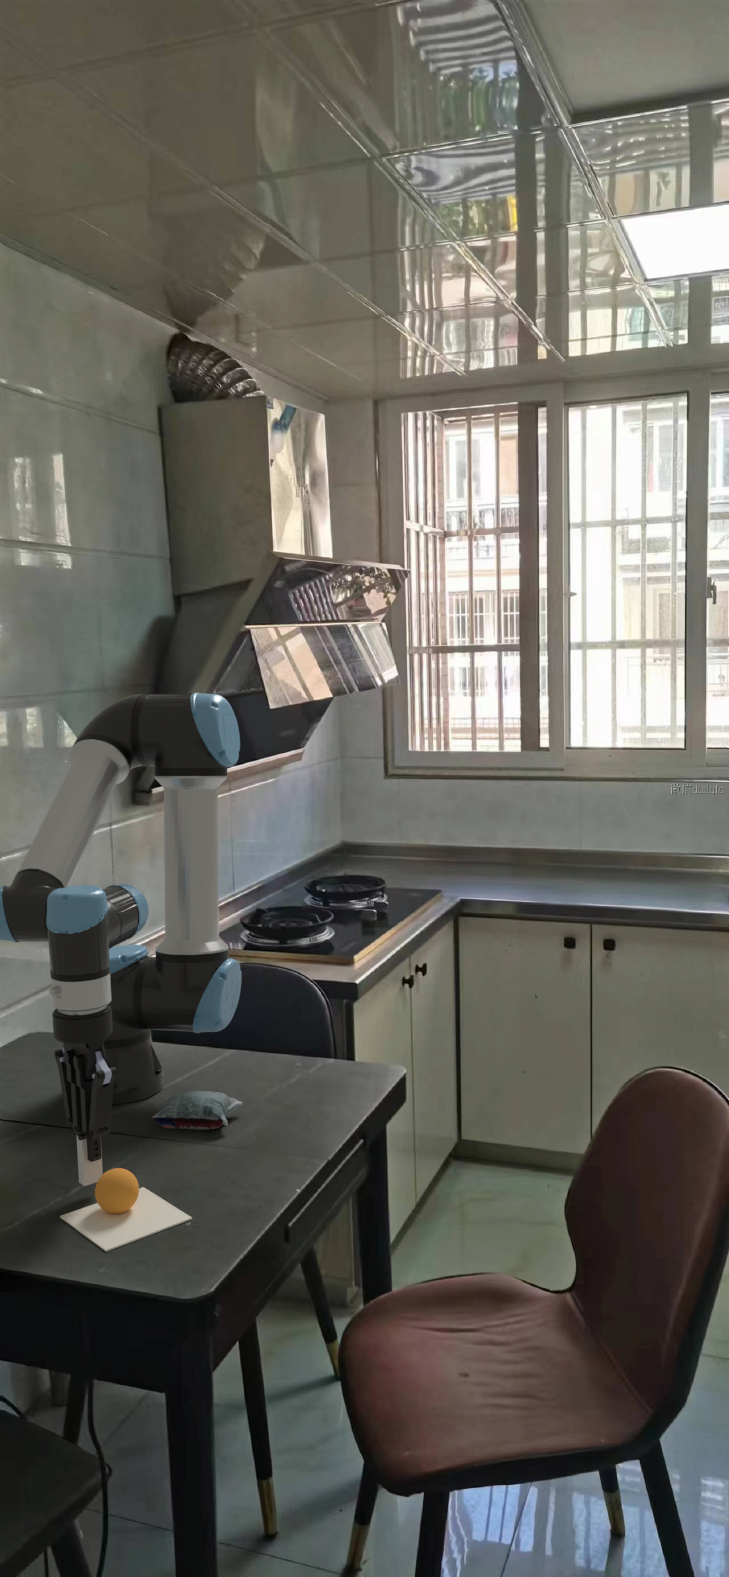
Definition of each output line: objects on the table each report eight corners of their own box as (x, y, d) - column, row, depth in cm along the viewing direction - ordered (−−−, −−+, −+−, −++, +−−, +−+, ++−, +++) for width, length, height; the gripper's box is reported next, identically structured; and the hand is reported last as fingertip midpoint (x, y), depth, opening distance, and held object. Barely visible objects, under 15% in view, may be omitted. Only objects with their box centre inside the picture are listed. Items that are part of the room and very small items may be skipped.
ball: (110, 1179, 147) (110, 1223, 147) (147, 1168, 151) (147, 1211, 151) (86, 1169, 151) (86, 1212, 151) (123, 1159, 155) (123, 1201, 155)
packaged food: (170, 1111, 185) (169, 1081, 184) (244, 1115, 183) (242, 1084, 182) (150, 1134, 176) (149, 1102, 176) (227, 1138, 174) (226, 1106, 174)
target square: (59, 1217, 150) (59, 1215, 150) (143, 1188, 157) (143, 1187, 157) (106, 1251, 141) (105, 1250, 141) (192, 1219, 148) (192, 1217, 148)
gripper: (32, 1002, 156) (42, 1174, 158) (79, 1023, 146) (88, 1206, 148) (84, 991, 160) (93, 1158, 163) (132, 1011, 151) (141, 1188, 153)
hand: (91, 1181), depth 156 cm, fingers closed
